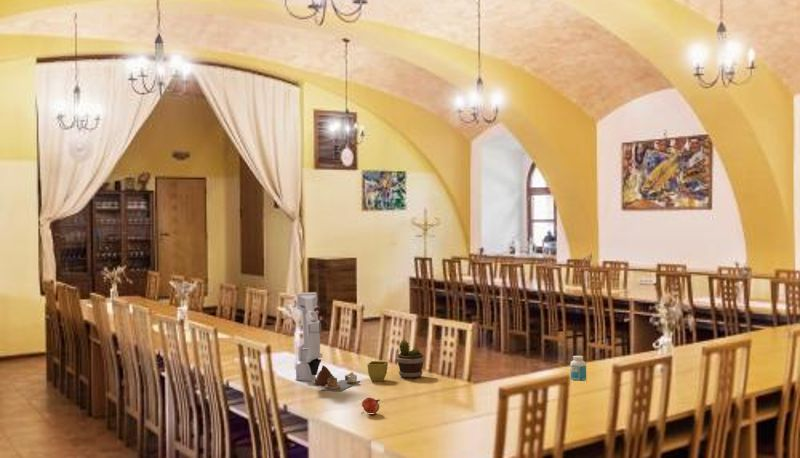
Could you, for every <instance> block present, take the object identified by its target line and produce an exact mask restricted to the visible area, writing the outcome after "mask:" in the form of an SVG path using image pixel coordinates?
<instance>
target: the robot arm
mask: <svg viewBox="0 0 800 458" xmlns="http://www.w3.org/2000/svg"><path fill="white" fill-rule="evenodd" d="M296 303H297V304H296V305H297V309H298V310H299V311H301V315H302V317H301V319H302V336H303V337H302V343H301V344H299V345H298V349H297V350H298V351H297V359H298V361H297V363H296V366H295V379H294V380H295V381H306V382H307V381H308V382H313V381H315V380H316V379H317V374H318V373H319V366H320V364H321V362H322V359H320V358H323V353H321V332H322V324H321V321H320V320H319V316H318V312H316V311H315V309H316V307H317V305H318V293H317V292H316V291H313V292H298V293H297V296H296Z"/></svg>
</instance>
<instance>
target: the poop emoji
mask: <svg viewBox="0 0 800 458" xmlns="http://www.w3.org/2000/svg"><path fill="white" fill-rule="evenodd" d="M330 376H334V375H333V373H331V370H329V369H328V367H326V366H325V365H322V366H321V369H320V371H318V372H317V375H316V377H317V379H316V380H314V384H315V385H316V386H319V387H323V386H324V387H325V386H326V385H328V378H330Z"/></svg>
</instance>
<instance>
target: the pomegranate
mask: <svg viewBox="0 0 800 458" xmlns="http://www.w3.org/2000/svg"><path fill="white" fill-rule="evenodd" d="M379 402H381V400H380V399H375V398H374V397H366V398H364V400H362V402H361V406H362V407H363V410H364V411H365V412H364V411H363V412H361V413H360V414H361V415H362V414H364V413H367V414H368V413H374V414H368V416H374V415H376V414H377V413H378V412H379V410H380V403H379ZM377 411H378V412H377ZM376 412H377V413H376Z"/></svg>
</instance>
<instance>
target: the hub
mask: <svg viewBox="0 0 800 458" xmlns="http://www.w3.org/2000/svg"><path fill="white" fill-rule="evenodd" d="M349 374H350V376H353V374H354V372H353V371H350V372H349ZM356 381H357V380H354V381H347V383H349V384H353V383H356Z"/></svg>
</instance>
